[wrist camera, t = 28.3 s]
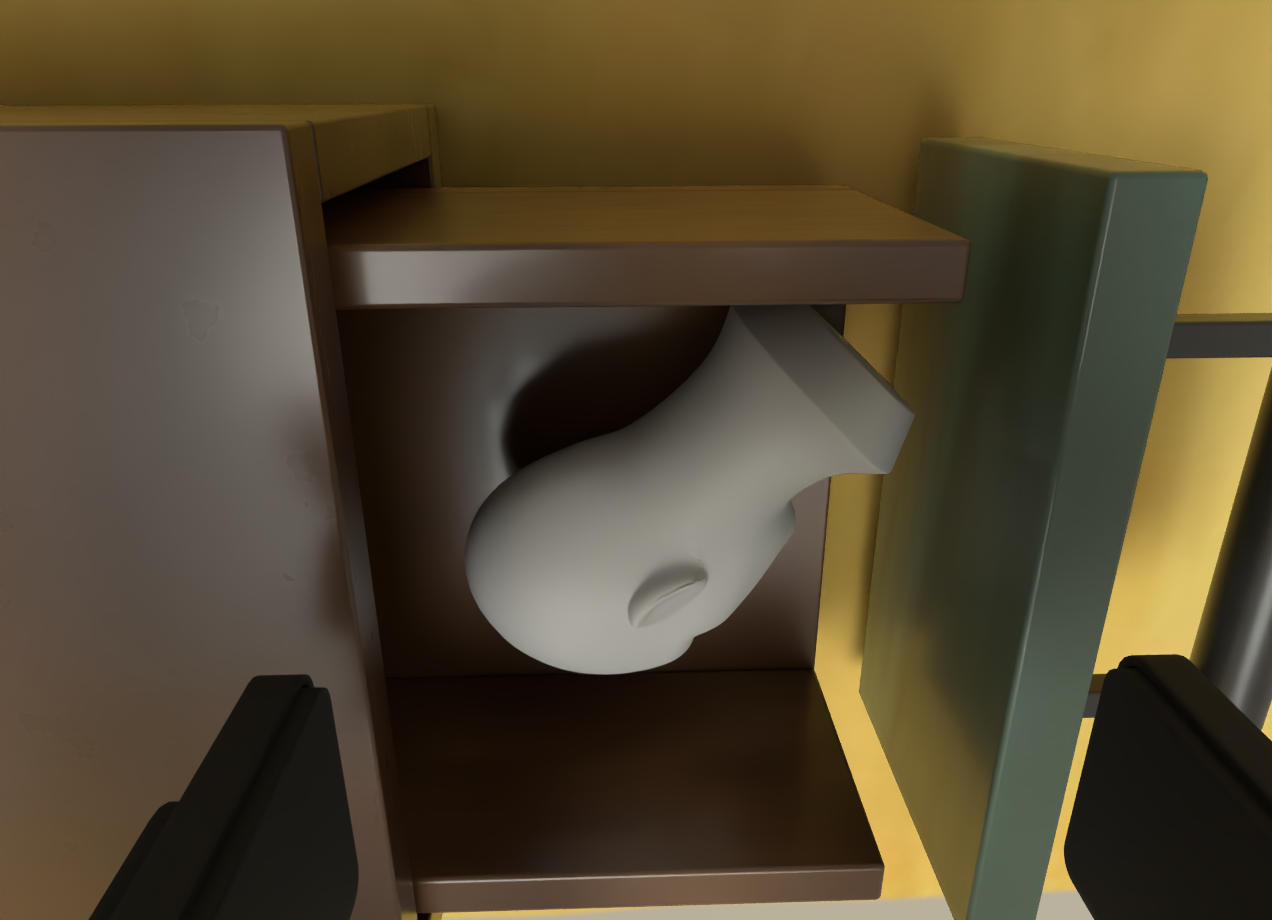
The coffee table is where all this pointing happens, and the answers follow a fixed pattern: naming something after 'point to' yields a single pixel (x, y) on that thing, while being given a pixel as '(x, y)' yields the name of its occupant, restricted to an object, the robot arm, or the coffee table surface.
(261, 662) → the cabinet
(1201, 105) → the coffee table surface
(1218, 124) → the coffee table surface
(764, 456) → the pale two-lobed sculpture
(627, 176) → the coffee table surface
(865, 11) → the coffee table surface
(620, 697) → the drawer
